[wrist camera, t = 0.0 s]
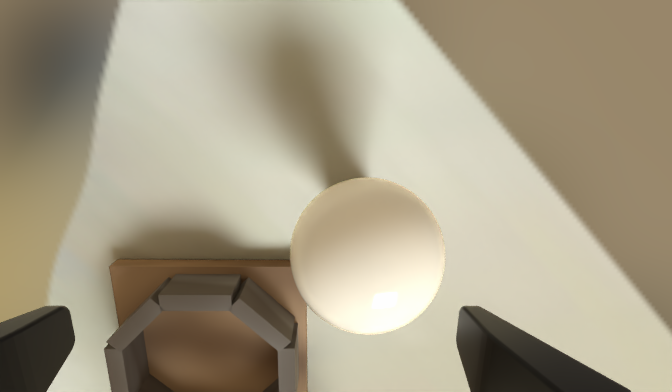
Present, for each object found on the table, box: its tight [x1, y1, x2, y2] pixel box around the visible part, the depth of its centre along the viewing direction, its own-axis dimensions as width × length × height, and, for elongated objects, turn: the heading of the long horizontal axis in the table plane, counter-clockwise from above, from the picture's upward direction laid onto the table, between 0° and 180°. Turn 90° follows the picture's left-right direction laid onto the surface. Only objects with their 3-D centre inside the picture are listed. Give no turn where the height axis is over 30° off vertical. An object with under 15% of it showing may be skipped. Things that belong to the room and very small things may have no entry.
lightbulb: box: [290, 178, 445, 334], centre depth 18 cm, size 6×6×11 cm
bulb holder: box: [104, 259, 307, 392], centre depth 24 cm, size 12×12×4 cm
